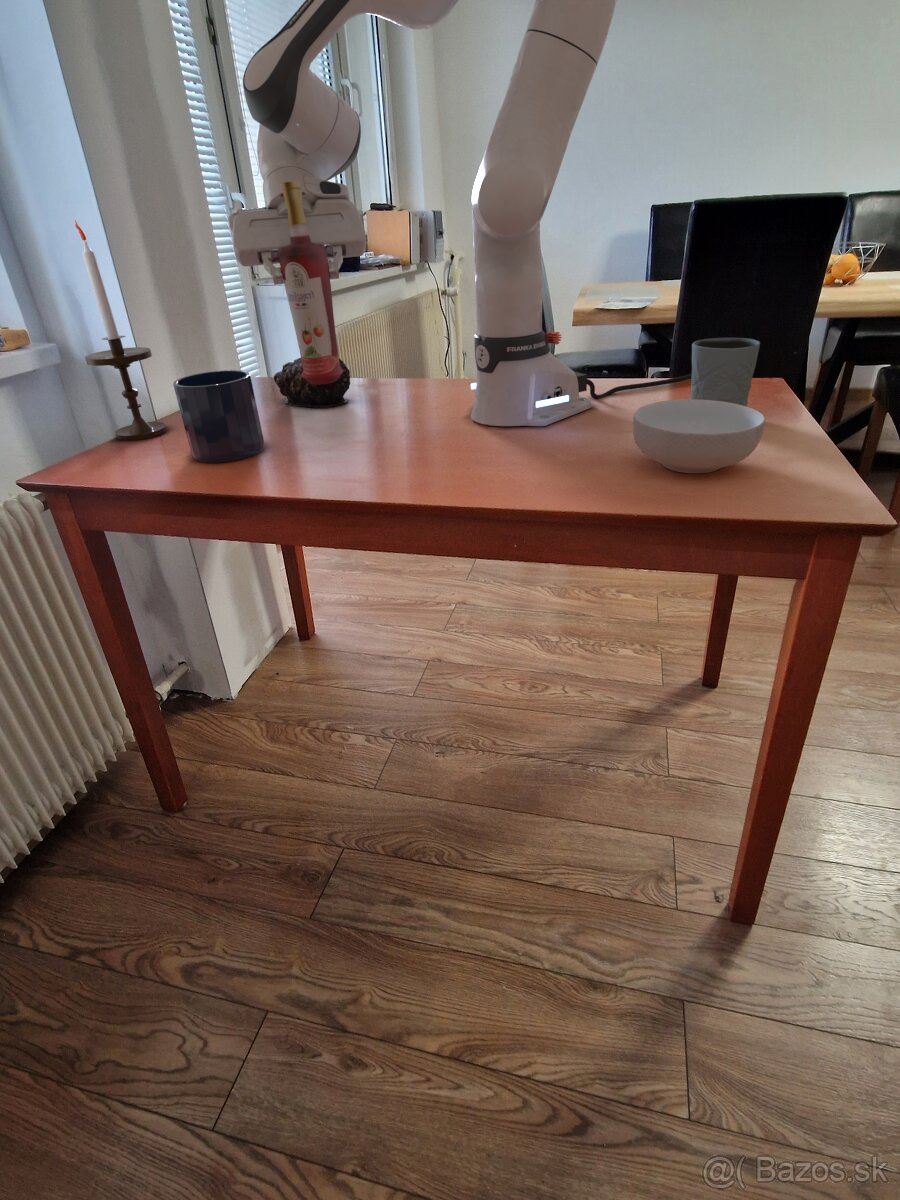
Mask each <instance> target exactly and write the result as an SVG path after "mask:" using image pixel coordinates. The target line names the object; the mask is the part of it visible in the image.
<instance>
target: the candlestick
mask: <svg viewBox="0 0 900 1200" xmlns="http://www.w3.org/2000/svg"><path fill="white" fill-rule="evenodd" d="M74 223H75V225H74V226H75V228H76V229H77V231H78V234H79V235H80V238H81V240H82V241H83V242H82V243H83V251H82V252H81V255H82V258H83V261H84V264H85V268H86V270H87V274H88V277H89V278H88V279H89V281H90V284H91V287H92V291H93V294H94V297H95V300H96V303H97V308H98V311H99V313H100V317H101V320H102V323H103V327H104V331H105V332H106V337H102V338H101V340H102V341H107V342H108V346H109V349H106V350H102V351H98V352H94V353H90V354H88V355H86V356H84V359H85V363H86V364H87V365H88V366H95V367H96V366H97V367H100V366H101V367H102V366H103V367H105V366H109V367H113V369H115V370H116V369H117V370H118V372H119V374H120V377H121V380H122V381H121V382H122V384H123V387H124V389H123V390H122V391H121V395H122V396H123V397H124V399H126V400H127V403H128V405H127V406H126V409H128V410H130V411H131V414H132V417H133V419H132V421H131V424H129V425H125V426H123V427H120V428H118V429H117V430H115V431H114V435H115V438H116V439H117V440H118V441H128V442H129V441H130V442H131V441H140V440H141V441H142V440H146V439H151V438H155V437H158V436H161V435H163V434H165V433H166V432H167V431H168V427H167V423H166V422H163V421H146V420H145V419H144V418H143V417H142V415H141V414H142V413H141V411H140V408H142V404H141V403H138V399H137V398H138V397H139V391H138V389H137V388H134V387H133V384H132V381H131V378H130V374H129V371H128V368H130V367H131V364H134V362H136V363H137V362H140V361H143V360H147V359H150V358H152V357H153V353H152V350H151V348H150V347H146V346H145V347H143V346H142V347H141V346H137V347H135V346H134V347H124V346H123V343H122V339H124V338H126V337H127V336H126V335H119V332H118V331H119V330H118V328H117V324H116V321H115V317H114V314H113V311H112V308H111V307H112V306H111V304H110V300H109V298H108V294H107V291H106V290H107V289H106V288H105V283H104V280H103V277H102V273H101V270H100V267H99V266H100V265H99V264H98V263H99V262H98V260H97V257H96V254H95V251H93V250H92V249H91V248H90V246H89V244H88V241H87V235H86V233H85V231H84V229H82V227H81V226H80V225H79V224H78V222H77V220H76V219H75V220H74Z"/></svg>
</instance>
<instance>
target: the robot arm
mask: <svg viewBox="0 0 900 1200" xmlns="http://www.w3.org/2000/svg"><path fill="white" fill-rule="evenodd" d="M459 1H460V0H304V2H303V3H302V4H301V5H300V6H299V7H298V9H297V10H296V11H295V12H294V14H292V15H291V17H290V18H289V19H288V20H287V22H286V23H285V24H284V25H283V27H282V28H281V29H280V30H279V31H278V32H277V33H276V34H275V35H274V36H272V37H271V38H270V39H269V40H268V41H267V42H266V43H264V44H263V45H262V46H261V47H260V48H259V49H258V50H257V51H256V52H255V53H254V55H253V56H252V57H251V58H250V60H249V61H248V63H247V65H246V67H245V70H244V73H243V77H242V87H243V93H244V98H245V99H244V100H245V102H246V105H247V109H248V111H249V113H250V116H251V118H252V119H253V120H254V121H255V122H257V123H259V124H258V128H257V133H256V154H257V161H258V162H257V163H258V168H259V169H258V170H259V174H260V177H261V179H262V180H263V182H262V194H263V199H264V206H261V207H252V208H247V209H246V208H239V209H236V212H233V213H231V214H230V215H228V218H227V222H228V228H229V231H230V232H231V234H232V246H233V251H234V255H235V258H236V259H235V260H236V261H237V262H238V264H240V265H241V266H242V267H255V266H263V268H264V270H265V271H266V272H267V273H268V274H269V275H270V276H271V277H272V280H273V285H274V286H277V285H284V280H283V276H282V271H281V267H280V266H279V267H278V266H277V267H276V266H275V265H277V264H280V262H279V258H278V256H279V254H280V253H281V251H282V250H283V249H284V248H286V247H287V246H288V245H290V244H291V242H290V231H289V220H288V209H287V205H286V202H285V199H284V196H283V190H282V184H281V183H284V182H296V181H300V186H301V192H302V207H303V211H304V215H305V219H306V224H307V228H308V232H309V236H310V240H311V242H312V243H314V244H317V245H319V246H321V247H322V248H323V249H325V250H326V251H327V258H328V260H331V259H332V260H333V261H332V262H328V267H329V275H330V280H340V271H339V270H340V268H341V267H342V264H343V262H344V258H354V257H355V258H356V257H362V256H363V255H365V253H366V251H367V236H366V231H365V227H364V223H363V220H362V218H361V215H360V213H359V209H358V208H357V206H356V205H355V204H354V203H353V201H351V198H350V193H349V187H348V186H347V185H346V184H344V183H341V182H334V181H330V180H332V179H333V178H336V177H337V176H339V175H340V174H343V173H344V172H345V171H346V170H347V169H348V168H349V167H350V166H351V165H352V164H353V163H354V161H355V160H356V158H357V156H358V153H359V150H360V146H361V137H362V126H361V120H360V116H359V114H358V112H357V111H356V110H355V109H354V108H353V107H351V105H350V104H348V103H347V102H346V100H345V99H344V98H343V97H342V96H340V94H338V93H337V91H335V90H334V89H332V88H331V87H330V86H329V85H328V84H327V83H326V82H324V80H323V79H321V78H320V76H318V74H316V73H315V72H314V71H313V70H312V69H311V65H312V63H313V62H314V61H315V59H316V58H317V57H318V56H319V55H320V54H321V52H322V51H323V50H324V49H325V48H326V47H327V45H328V44H329V43H330V42H331V40H333V39H334V37H335V36H336V35H337V34H338V33H339V31H340V30H341V29H342V28H343V27H344V26H345V25H346V24H347V22H349V21H350V20H351V19H353V18H354V17H355V18H356V17H357V16H360V15H372V16H377V17H379V18H382V19H385V20H387V21H389V22H392V23H394V24H396V25H398V26H401V27H402V28H406V29H411V30H417V31H418V30H419V31H421V30H427V29H433V28H434V27H436V26H438V25H440V24H441V23H442V22H443V21H444V20H445V19H446V18H447V17H448V16H449V15H450V13H451V12H452V11H453V10H454V8H455V7H456V5H457V4H458V2H459ZM616 6H617V0H535V1H534V5H533V9H532V11H531V14H530V17H529V21H528V23H527V26H526V29H525V32H524V35H523V38H522V41H521V44H520V47H519V50H518V53H517V56H516V59H515V62H514V65H513V67H512V71H511V74H510V77H509V80H508V82H507V86H506V89H505V92H504V95H503V97H502V100H501V104H500V107H499V110H498V113H497V116H496V119H495V122H494V124H493V125H494V126H493V128H492V131H491V134H490V137H489V140H488V142H487V146H486V147H485V148H486V149H485V152H484V155H483V158H482V160H481V163H480V166H479V169H478V173H477V175H476V178H475V181H474V185H473V189H472V193H471V218H472V219H471V220H472V244H473V245H472V246H473V247H472V248H473V249H472V250H473V272H474V275H473V276H474V298H475V299H474V300H475V321H476V322H475V323H476V325H475V326H476V333H475V334H474V359H475V365H476V379H475V380H476V381H475V382H473V383H470V389H471V390H475V393H474V399H473V404H472V411H471V414H470V419H471V420H472V421H473V422H475V423H478V424H481V425H485V426H486V425H487V426H495V427H521V426H522V427H523V426H524V427H525V426H526V427H546V426H549V425H551V424H554V423H556V422H559V421H561V420H563V419H566V418H569V417H572V416H574V415H576V414H580V413H581V412H584V411H586V410H589V409H591V408H592V401H591V400H589V398H586V397H584V396H581V395H580V393H583V392H587V391H588V389H587V387H588V386H589V392H590V393H589V395H590V397H591V398H592V399H594V400H598V399H602V398H605V397H609V396H611V395H613V394H615V393H617V392H622V391H628V390H629V391H630V390H636V389H645V388H650V387H658V386H664V385H665V386H666V385H671V384H674V383H675V384H676V383H680V382H683V381H687V380H692V373H690V374H686V375H682V376H678V377H672V378H668V379H662V380H654V381H647V382H641V383H640V382H639V383H631V384H625V385H619V386H616V387H613V388H611V389H609V390H607V391H605V392H604V393H602V394H597V393H596V386H595V384H594V383H595V382H593V381H592V380H591V379H589V378H588V374H586V373H581V372H578V371H574V370H572V368H570V367H569V366H568V365H566V364H565V363H564V362H563V361H561V360H560V359H559V358H557V356H555V355H554V354H553V353H551V348H550V345H549V344H552V345H559V344H560V343H561V341H562V334H561V332H559V331H552V330H550V331H548V332H547V333H546V332H545V331H544V330H543V270H542V251H541V222H542V219H543V216H544V215H545V212H546V208H547V206H548V204H549V200H550V198H551V194H552V193H553V189H554V186H555V184H556V180H557V178H558V175H559V172H560V169H561V166H562V163H563V159H564V157H565V154H566V151H567V148H568V145H569V142H570V138H571V135H572V133H573V129H574V127H575V125H576V121H577V119H578V116H579V113H580V111H581V109H582V106H583V104H584V100H585V98H586V95H587V93H588V90H589V87H590V85H591V82H592V80H593V78H594V75H595V72H596V70H597V67H598V64H599V62H600V59H601V56H602V53H603V52H604V51H603V50H604V47H605V44H606V41H607V39H608V35H609V31H610V27H611V24H612V21H613V17H614V13H615V9H616Z"/></svg>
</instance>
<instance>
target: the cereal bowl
mask: <svg viewBox="0 0 900 1200" xmlns="http://www.w3.org/2000/svg"><path fill="white" fill-rule="evenodd" d="M765 424H766V417H765V415H764V414H763V413H762V412H760V411H758V410H757V409H754V408H752V407H748V406H747V407H746V406H742V405H738V404H733V403H728V402H721V401H713V400H698V399H691V398H690V399H689V398H688V399H687V398H686V399H683V398H682V399H670V400H662V401H661V400H660V401H655V402H652V403H648V404H644V405H642V406H640V407H639V408H638V409H636V410H635V412H634V413H633V417H632V435H633V440H634V443H635V444H636V446H637V448H638V449H639V450H640V451H641V453H642V454H644V456H646V457H647V458H649V459H651V460H652V461H654V462H657V463H658V464H661V465H662V466H663V467H664V468H666V469H667V470H670V471H673V472H676V473H681V474H682V473H684V474H706V473H707V474H708V473H712V472H715V471H718V470H719V469H722V468H726V467H730V466H732V465H736V464H738V463H740V462H741V461H743V460H745V459H746V458H748V457H749V456H750V455H751V454H752V453H753V452H754V451H755V450H756V448H757V447H758V445H759V443H760V442H761V439H762V436H763V434H764V429H765Z"/></svg>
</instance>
